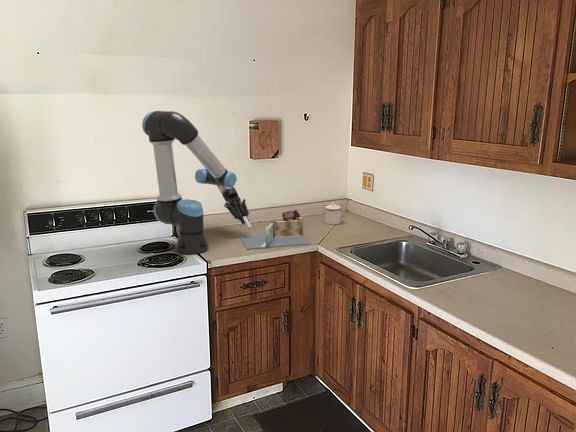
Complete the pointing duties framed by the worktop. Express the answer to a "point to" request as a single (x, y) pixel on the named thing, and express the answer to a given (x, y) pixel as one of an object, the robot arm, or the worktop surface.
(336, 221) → the teacup with lid
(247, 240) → the card
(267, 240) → the hinged fence panel
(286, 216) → the toy fire truck
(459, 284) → the worktop surface
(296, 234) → the fixed fence panel
